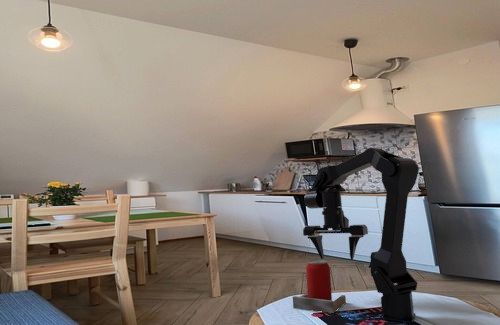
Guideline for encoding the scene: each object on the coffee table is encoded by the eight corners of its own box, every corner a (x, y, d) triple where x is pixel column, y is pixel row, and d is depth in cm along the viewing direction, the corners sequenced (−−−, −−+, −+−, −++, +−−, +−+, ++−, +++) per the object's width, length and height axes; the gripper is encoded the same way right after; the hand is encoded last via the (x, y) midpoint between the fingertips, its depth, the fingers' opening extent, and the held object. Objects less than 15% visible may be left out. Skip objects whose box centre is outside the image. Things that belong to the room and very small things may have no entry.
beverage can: (330, 302, 96) (327, 259, 98) (333, 308, 90) (331, 262, 92) (307, 302, 97) (305, 259, 99) (308, 308, 90) (306, 263, 92)
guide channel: (345, 302, 95) (345, 291, 95) (332, 313, 86) (331, 301, 86) (309, 298, 101) (308, 287, 101) (293, 308, 92) (292, 296, 92)
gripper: (369, 205, 104) (375, 256, 102) (314, 208, 114) (317, 254, 112) (360, 206, 95) (365, 262, 92) (300, 209, 105) (304, 259, 102)
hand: (336, 259), depth 100 cm, fingers open, 9 cm apart
